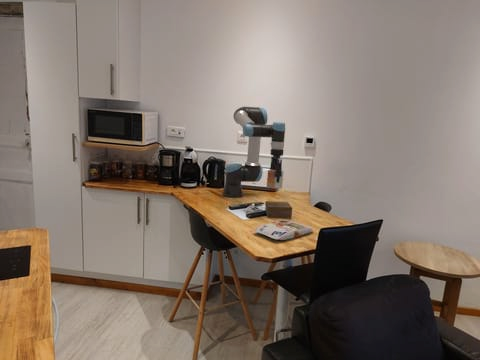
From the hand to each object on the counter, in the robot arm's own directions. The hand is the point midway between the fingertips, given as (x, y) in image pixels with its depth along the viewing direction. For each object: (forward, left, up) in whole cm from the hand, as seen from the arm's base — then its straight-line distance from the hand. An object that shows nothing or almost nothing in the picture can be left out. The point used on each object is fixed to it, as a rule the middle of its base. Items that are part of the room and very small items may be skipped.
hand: (274, 186), depth 216 cm
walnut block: (+1, +3, -18) cm, 18 cm away
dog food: (+34, -5, -18) cm, 39 cm away
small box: (0, 0, -1) cm, 1 cm away
